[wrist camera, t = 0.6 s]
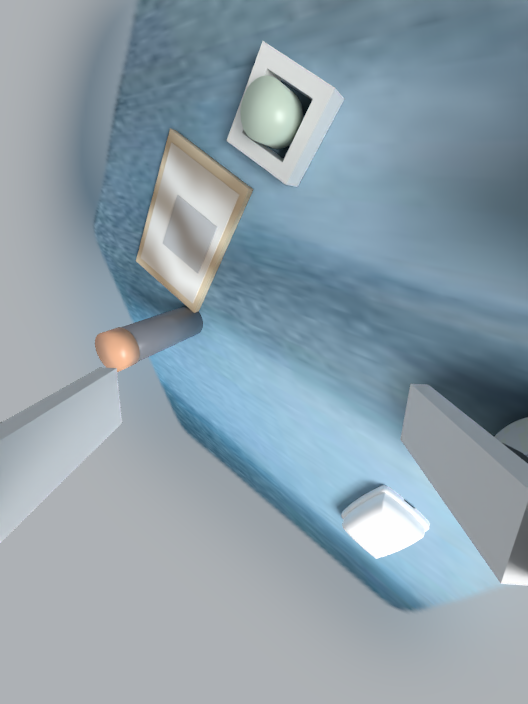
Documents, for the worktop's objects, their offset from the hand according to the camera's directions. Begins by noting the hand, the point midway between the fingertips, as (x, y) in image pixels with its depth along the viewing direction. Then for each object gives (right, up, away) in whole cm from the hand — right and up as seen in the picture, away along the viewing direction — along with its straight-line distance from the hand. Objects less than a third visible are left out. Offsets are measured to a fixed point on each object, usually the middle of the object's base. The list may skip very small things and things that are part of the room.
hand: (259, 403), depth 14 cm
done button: (+2, +21, +12) cm, 24 cm away
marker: (-10, +7, +27) cm, 29 cm away
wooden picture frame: (-9, +17, +22) cm, 29 cm away
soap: (+15, -17, +23) cm, 33 cm away
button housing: (+2, +22, +13) cm, 26 cm away
